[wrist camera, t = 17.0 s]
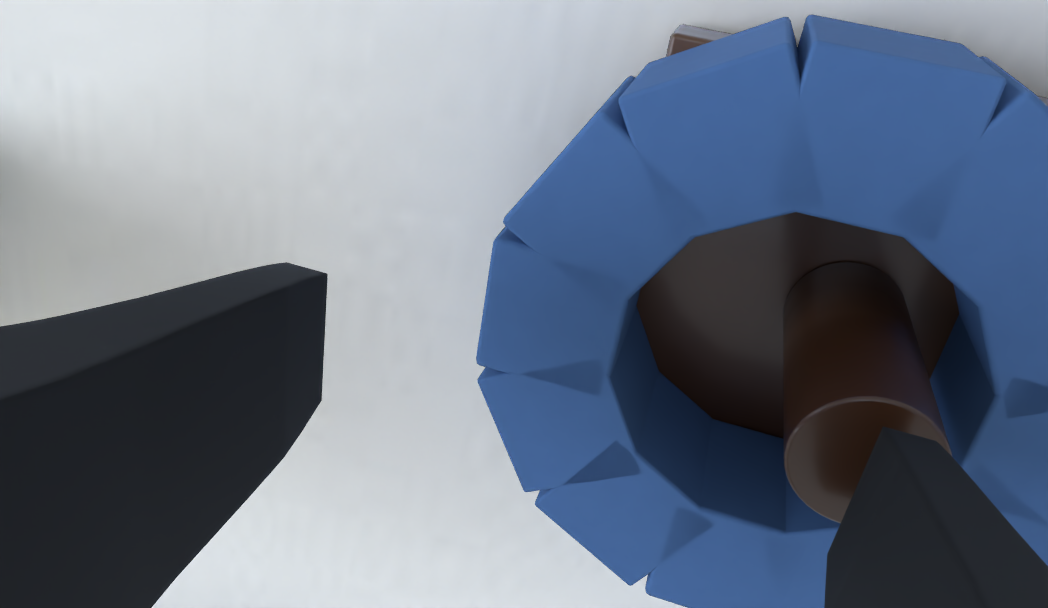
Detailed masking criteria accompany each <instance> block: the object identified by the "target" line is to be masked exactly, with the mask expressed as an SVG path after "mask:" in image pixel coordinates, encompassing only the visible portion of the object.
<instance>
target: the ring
mask: <svg viewBox="0 0 1048 608" xmlns="http://www.w3.org/2000/svg"><path fill="white" fill-rule="evenodd" d="M794 212H798V213H802V214H807V215H811V216H815V217H819V218H824V219H828V220H832V221H836V222H841V223H845V224H849V225H853V226H858V227H862V228H866V229H870V230H875V231H879V232H883V233H887V234H892V235H896V236H900V237H904V238H905V239H906V240H907V241H908V242H909V243H910V244H911V245H912V246H913V247H914V248H915V249H916V250H917V251H918V252H920V253H921V254H922V255H923V256H924V257H925V258H926V259H927V260H928V261H929V262H930V263H931V264H932V265H933V266H935V267H936V268H937V269H938V270H939V271H940V272H941V273H942V274H943V275H944V276H945V277H946V278H947V279H948V280H950V281H951V282H952V283H953V285H954V289H955V294H956V299H957V304H958V309H959V316H958V318H957V320H956V322H955V324H954V327H953V329H952V331H951V333H950V336H949V338H948V340H947V342H946V344H945V347H944V349H943V351H942V353H941V355H940V358H939V360H938V362H937V364H936V366H935V369H934V371H933V373H932V375H931V378H930V383H931V387H932V390H933V393H934V396H935V400H936V403H937V406H938V409H939V413H940V416H941V419H942V422H943V426H944V429H945V432H946V435H947V439H948V442H949V445H950V449H951V452H952V457H953V458H954V459H955V461H956V462H957V463H958V464H959V465H960V466H961V467H962V468H963V469H964V471H965V472H966V473H967V474H968V475H969V476H970V478H971V479H972V480H973V481H974V482H975V483H976V484H977V486H978V487H979V488H980V489H981V490H982V491H983V493H984V494H985V495H986V496H987V497H988V498H989V500H990V501H991V502H992V503H993V504H994V505H995V507H996V508H997V509H998V510H999V511H1000V512H1001V514H1002V515H1003V516H1004V517H1005V518H1006V519H1007V520H1008V522H1009V523H1010V524H1011V525H1012V526H1013V527H1014V529H1015V530H1016V531H1017V532H1018V533H1019V534H1020V535H1021V537H1022V538H1023V539H1024V540H1025V541H1026V542H1027V543H1028V544H1029V546H1030V547H1031V548H1032V549H1033V550H1034V551H1035V552H1036V553H1037V555H1038V556H1039V557H1040V558H1041V559H1042V560H1043V561H1044V562H1045V563H1046V565H1047V566H1048V106H1047V105H1046V104H1045V103H1044V102H1043V101H1042V100H1040V99H1039V98H1038V97H1037V96H1036V95H1035V94H1034V93H1033V92H1032V91H1031V90H1029V89H1028V88H1027V87H1025V86H1024V85H1023V84H1021V83H1020V82H1019V81H1017V80H1016V79H1015V78H1013V77H1012V76H1011V75H1009V74H1008V73H1007V72H1006V71H1004V70H1003V69H1002V68H1000V67H999V66H998V65H996V64H995V63H994V62H992V61H991V60H990V59H988V58H987V57H984V56H981V57H978V56H976V55H975V54H974V53H973V52H971V51H970V50H969V49H968V48H966V47H965V46H964V45H962V44H960V43H955V42H950V41H945V40H939V39H934V38H929V37H924V36H919V35H914V34H909V33H904V32H898V31H893V30H888V29H883V28H878V27H873V26H868V25H862V24H857V23H852V22H847V21H842V20H837V19H832V18H827V17H821V16H816V15H808V17H807V18H806V21H805V24H804V27H803V31H802V34H801V37H800V41H799V44H798V47H797V45H796V40H795V36H794V32H793V28H792V24H791V20H790V19H789V18H788V17H783V18H780V19H777V20H774V21H771V22H768V23H765V24H762V25H759V26H756V27H753V28H750V29H747V30H744V31H741V32H738V33H735V34H732V35H730V36H727V37H724V38H721V39H718V40H715V41H712V42H709V43H706V44H703V45H700V46H697V47H694V48H691V49H688V50H685V51H682V52H679V53H676V54H673V55H671V56H668V57H665V58H662V59H659V60H656V61H653V62H650V63H648V64H647V65H646V66H645V68H644V69H643V70H642V71H641V72H640V74H639V75H638V76H637V77H636V78H635V77H633V76H630V77H628V78H627V79H626V80H625V81H624V82H623V83H622V84H621V85H620V87H619V88H618V89H617V90H616V91H615V92H614V93H613V94H612V96H611V97H610V98H609V99H608V100H607V101H606V102H605V103H604V105H603V106H602V107H601V108H600V109H599V110H598V111H597V113H596V114H595V115H594V116H593V117H592V118H591V119H590V121H589V122H588V123H587V124H586V125H585V126H584V127H583V128H582V130H581V131H580V132H579V133H578V134H577V135H576V136H575V138H574V139H573V140H572V141H571V142H570V143H569V144H568V146H567V147H566V148H565V149H564V150H563V151H562V152H561V154H560V155H559V156H558V157H557V158H556V159H555V160H554V162H553V163H552V164H551V165H550V166H549V167H548V168H547V169H546V171H545V172H544V173H543V174H542V175H541V176H540V177H539V179H538V180H537V181H536V182H535V183H534V184H533V185H532V187H531V188H530V189H529V190H528V191H527V192H526V193H525V195H524V196H523V197H522V198H521V199H520V200H519V201H518V203H517V204H516V205H515V206H514V207H513V208H512V209H511V211H510V212H509V213H508V214H507V215H506V216H505V218H504V221H503V223H504V224H505V226H506V227H505V228H504V229H503V230H502V231H501V233H500V234H499V235H498V236H497V237H496V239H495V240H494V242H493V248H492V255H491V262H490V269H489V276H488V282H487V289H486V296H485V303H484V309H483V316H482V323H481V330H480V336H479V343H478V350H477V357H476V360H477V364H479V365H480V366H484V367H485V369H484V370H483V372H482V373H481V375H480V377H479V378H478V384H479V386H480V388H481V391H482V393H483V395H484V398H485V400H486V403H487V405H488V407H489V410H490V412H491V414H492V417H493V419H494V421H495V424H496V426H497V428H498V431H499V433H500V436H501V438H502V440H503V443H504V445H505V447H506V450H507V452H508V454H509V457H510V459H511V461H512V464H513V466H514V468H515V471H516V473H517V476H518V478H519V480H520V483H521V485H522V487H523V490H524V491H525V492H531V491H538V490H540V492H539V494H538V497H537V499H536V501H535V505H536V506H537V507H538V508H539V509H540V510H541V511H542V512H544V513H545V514H546V515H547V516H548V517H549V518H551V519H552V520H553V521H554V522H555V523H557V524H558V525H559V526H560V527H561V528H562V529H564V530H565V531H566V532H567V533H568V534H569V535H571V536H572V537H573V538H574V539H575V540H576V541H578V542H579V543H580V544H581V545H582V546H583V547H585V548H586V549H587V550H588V551H589V552H591V553H592V554H593V555H594V556H595V557H596V558H598V559H599V560H600V561H601V562H602V563H603V564H605V565H606V566H607V567H608V568H609V569H610V570H612V571H613V572H614V573H615V574H616V575H617V576H619V577H620V578H621V579H622V580H623V581H625V582H626V583H627V584H628V585H633V584H634V583H636V582H637V581H639V580H640V579H642V578H643V577H645V576H646V575H647V574H648V577H647V582H646V587H645V589H646V593H647V594H648V595H650V596H654V597H657V598H660V599H663V600H666V601H669V602H672V603H675V604H678V605H682V606H685V607H688V608H824V606H825V584H826V567H827V553H828V551H829V549H830V547H831V544H832V542H833V540H834V537H835V535H836V533H837V531H838V528H839V526H840V524H841V523H838V522H835V521H832V520H830V519H828V518H826V517H824V516H822V515H820V514H818V513H817V512H815V511H814V510H812V509H811V508H810V507H809V506H807V505H806V504H805V503H804V502H803V501H802V500H801V499H800V498H799V497H798V495H797V494H796V493H795V491H794V490H793V489H792V487H791V485H790V483H789V481H788V479H787V476H786V473H785V468H784V439H782V438H779V437H775V436H772V435H768V434H765V433H761V432H758V431H754V430H751V429H747V428H743V427H740V426H736V425H733V424H729V423H726V422H722V421H719V420H715V419H712V418H711V417H710V416H709V415H708V414H707V413H706V412H705V411H703V410H702V409H701V408H700V407H699V406H698V405H697V404H696V403H694V402H693V401H692V400H691V399H690V398H689V397H688V396H687V395H685V394H684V393H683V392H682V391H681V390H680V389H679V388H677V387H676V386H675V385H674V384H673V383H672V382H671V381H670V380H668V379H667V378H666V377H665V376H664V375H663V374H662V373H661V372H659V370H658V367H657V364H656V361H655V358H654V356H653V353H652V350H651V347H650V344H649V341H648V338H647V335H646V332H645V329H644V326H643V323H642V321H641V318H640V315H639V312H638V309H637V306H636V305H637V301H638V297H639V293H640V289H641V288H642V287H643V286H644V285H645V284H646V283H647V282H648V281H649V280H650V279H651V278H652V277H653V276H654V275H655V274H657V273H658V272H659V271H660V270H661V269H662V268H663V267H664V266H665V265H666V264H667V263H668V262H669V261H670V260H671V259H672V258H673V257H675V256H676V255H677V254H678V253H679V252H680V251H681V250H682V249H683V248H684V247H685V246H686V245H687V244H688V243H689V242H690V241H691V240H693V239H694V238H695V237H698V236H702V235H706V234H710V233H714V232H718V231H722V230H726V229H730V228H734V227H738V226H742V225H746V224H750V223H754V222H758V221H762V220H766V219H770V218H774V217H778V216H782V215H786V214H790V213H794Z"/></svg>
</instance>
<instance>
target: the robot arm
mask: <svg viewBox="0 0 1048 608" xmlns="http://www.w3.org/2000/svg"><path fill="white" fill-rule="evenodd" d="M326 295H327V274H326V273H323V272H319V271H315V270H312V269H308V268H305V267H301V266H297V265H294V264H290V263H279V264H272V265H266V266H261V267H257V268H252V269H248V270H244V271H240V272H236V273H232V274H228V275H224V276H220V277H216V278H212V279H209V280H205V281H201V282H197V283H194V284H190V285H186V286H182V287H178V288H174V289H171V290H167V291H163V292H159V293H155V294H152V295H148V296H144V297H140V298H136V299H131V300H127V301H123V302H118V303H114V304H110V305H105V306H101V307H96V308H92V309H88V310H83V311H79V312H75V313H70V314H66V315H62V316H57V317H52V318H47V319H42V320H36V321H31V322H25V323H20V324H14V325H8V326H1V327H0V608H151V607H152V606H153V605H154V604H155V603H156V601H157V600H158V599H159V598H160V597H161V595H162V594H163V593H164V592H165V590H166V589H167V588H168V587H169V586H170V584H171V583H172V582H173V581H174V580H175V578H176V577H177V576H178V575H179V574H180V573H181V572H182V571H183V570H184V568H185V567H186V566H187V565H188V564H189V563H190V562H191V561H192V560H193V558H194V557H195V556H196V555H197V554H198V553H199V552H200V551H201V550H202V549H203V547H204V546H205V545H206V544H207V543H208V542H209V541H210V540H211V539H212V537H213V536H214V535H215V534H216V533H217V532H218V531H219V530H220V529H221V527H222V526H223V525H224V524H225V523H226V522H227V521H228V520H229V519H230V518H231V516H232V515H233V514H234V513H235V512H236V511H237V510H238V509H239V508H240V507H241V505H242V504H243V503H244V502H245V501H246V500H247V499H248V498H249V496H250V495H251V494H252V493H253V492H254V491H255V490H256V489H257V487H258V486H259V485H260V484H261V483H262V482H263V481H264V480H265V478H266V477H267V476H268V475H269V474H270V473H271V472H272V471H273V469H274V468H275V467H276V466H277V465H278V464H279V462H280V461H281V460H282V459H283V458H284V456H285V455H286V454H287V452H288V451H289V449H290V448H291V446H292V445H293V443H294V442H295V441H296V439H297V438H298V436H299V435H300V433H301V432H302V430H303V429H304V427H305V426H306V424H307V422H308V421H309V419H310V418H311V416H312V415H313V413H314V411H315V410H316V408H317V407H318V405H319V404H320V402H321V399H322V378H323V357H324V337H325V316H326ZM824 608H1048V566H1047V565H1046V563H1045V562H1044V561H1043V560H1042V559H1041V558H1040V557H1039V556H1038V555H1037V553H1036V552H1035V551H1034V550H1033V549H1032V548H1031V547H1030V546H1029V544H1028V543H1027V542H1026V541H1025V540H1024V539H1023V538H1022V537H1021V535H1020V534H1019V533H1018V532H1017V531H1016V530H1015V529H1014V527H1013V526H1012V525H1011V524H1010V523H1009V522H1008V520H1007V519H1006V518H1005V517H1004V516H1003V515H1002V514H1001V512H1000V511H999V510H998V509H997V508H996V507H995V505H994V504H993V503H992V502H991V501H990V500H989V498H988V497H987V496H986V495H985V494H984V493H983V491H982V490H981V489H980V488H979V487H978V486H977V484H976V483H975V482H974V481H973V480H972V479H971V478H970V476H969V475H968V474H967V473H966V472H965V471H964V469H963V468H962V467H961V466H960V465H959V464H958V463H957V462H956V461H955V459H954V458H953V457H952V456H951V455H950V454H949V453H948V452H947V451H946V450H945V449H944V448H943V447H942V446H941V445H940V444H939V443H938V442H937V441H934V440H931V439H927V438H924V437H920V436H916V435H913V434H909V433H905V432H902V431H898V430H894V429H891V428H887V427H884V426H883V427H882V430H881V432H880V434H879V436H878V439H877V441H876V443H875V446H874V448H873V450H872V453H871V455H870V457H869V459H868V462H867V464H866V466H865V469H864V471H863V473H862V475H861V478H860V480H859V482H858V485H857V487H856V489H855V492H854V494H853V496H852V498H851V501H850V503H849V505H848V508H847V510H846V512H845V514H844V517H843V519H842V521H841V524H840V526H839V528H838V531H837V533H836V535H835V537H834V540H833V542H832V544H831V547H830V549H829V551H828V553H827V567H826V584H825V606H824Z"/></svg>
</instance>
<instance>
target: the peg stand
mask: <svg viewBox="0 0 1048 608" xmlns="http://www.w3.org/2000/svg"><path fill="white" fill-rule="evenodd" d="M730 35H732V34H729V33H724V32H719V31H714V30H709V29H704V28H699V27H694V26H689V25H684V24H683V25H680V26H679V27H678V28H677V29H676V30H675V32H674V33H673V34H672V36H671V37H670V41H669V46H668V50H667V54H666V57H668V56H671V55H673V54H676V53H679V52H682V51H685V50H688V49H691V48H694V47H697V46H700V45H703V44H706V43H709V42H712V41H715V40H718V39H721V38H724V37H727V36H730ZM1037 97H1038V98H1039V99H1040V100H1042V101H1043V102H1044V103H1045V104H1046V105H1047V106H1048V98H1044V97H1039V96H1037ZM636 306H637V309H638V312H639V315H640V318H641V321H642V323H643V326H644V329H645V332H646V335H647V338H648V341H649V344H650V347H651V350H652V353H653V356H654V358H655V361H656V364H657V367H658V370H659V372H661V373H662V374H663V375H664V376H665V377H666V378H667V379H668V380H670V381H671V382H672V383H673V384H674V385H675V386H676V387H677V388H679V389H680V390H681V391H682V392H683V393H684V394H685V395H687V396H688V397H689V398H690V399H691V400H692V401H693V402H694V403H696V404H697V405H698V406H699V407H700V408H701V409H702V410H703V411H705V412H706V413H707V414H708V415H709V416H710V417H711V418H712V419H715V420H719V421H722V422H726V423H729V424H733V425H736V426H740V427H743V428H747V429H751V430H754V431H758V432H761V433H765V434H768V435H772V436H775V437H779V438H782V439H784V468H785V473H786V476H787V479H788V481H789V483H790V485H791V487H792V489H793V490H794V491H795V493H796V494H797V495H798V497H799V498H800V499H801V500H802V501H803V502H804V503H805V504H806V505H807V506H809V507H810V508H811V509H812V510H814V511H815V512H817V513H818V514H820V515H822V516H824V517H826V518H828V519H830V520H832V521H835V522H838V523H841V521H842V519H843V517H844V514H845V512H846V510H847V508H848V505H849V503H850V501H851V498H852V496H853V494H854V492H855V489H856V487H857V485H858V482H859V480H860V478H861V475H862V473H863V471H864V469H865V466H866V464H867V462H868V459H869V457H870V455H871V453H872V450H873V448H874V446H875V443H876V441H877V439H878V436H879V434H880V432H881V430H882V427H883V426H884V427H887V428H891V429H894V430H898V431H902V432H905V433H909V434H913V435H916V436H920V437H924V438H927V439H931V440H934V441H937V442H938V443H939V444H940V445H941V446H942V447H943V448H944V449H945V450H946V451H947V452H948V453H949V454H950V455H951V456H952V452H951V449H950V445H949V442H948V439H947V435H946V432H945V429H944V426H943V422H942V419H941V416H940V413H939V409H938V406H937V403H936V400H935V396H934V393H933V390H932V387H931V383H930V378H931V375H932V373H933V371H934V369H935V366H936V364H937V362H938V360H939V358H940V355H941V353H942V351H943V349H944V347H945V344H946V342H947V340H948V338H949V336H950V333H951V331H952V329H953V327H954V324H955V322H956V320H957V318H958V316H959V309H958V304H957V299H956V294H955V289H954V285H953V283H952V282H951V281H950V280H948V279H947V278H946V277H945V276H944V275H943V274H942V273H941V272H940V271H939V270H938V269H937V268H936V267H935V266H933V265H932V264H931V263H930V262H929V261H928V260H927V259H926V258H925V257H924V256H923V255H922V254H921V253H920V252H918V251H917V250H916V249H915V248H914V247H913V246H912V245H911V244H910V243H909V242H908V241H907V240H906V239H905V238H904V237H900V236H896V235H892V234H887V233H883V232H879V231H875V230H870V229H866V228H862V227H858V226H853V225H849V224H845V223H841V222H836V221H832V220H828V219H824V218H819V217H815V216H811V215H807V214H802V213H798V212H794V213H790V214H786V215H782V216H778V217H774V218H770V219H766V220H762V221H758V222H754V223H750V224H746V225H742V226H738V227H734V228H730V229H726V230H722V231H718V232H714V233H710V234H706V235H702V236H698V237H695V238H694V239H693V240H691V241H690V242H689V243H688V244H687V245H686V246H685V247H684V248H683V249H682V250H681V251H680V252H679V253H678V254H677V255H676V256H675V257H673V258H672V259H671V260H670V261H669V262H668V263H667V264H666V265H665V266H664V267H663V268H662V269H661V270H660V271H659V272H658V273H657V274H655V275H654V276H653V277H652V278H651V279H650V280H649V281H648V282H647V283H646V284H645V285H644V286H643V287H642V288H641V289H640V293H639V297H638V301H637V305H636Z"/></svg>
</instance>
